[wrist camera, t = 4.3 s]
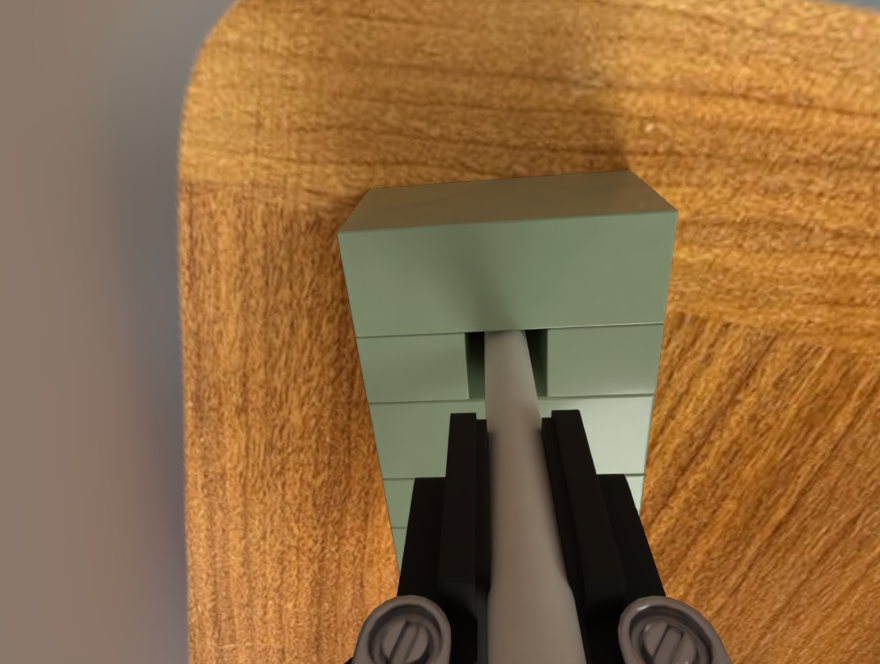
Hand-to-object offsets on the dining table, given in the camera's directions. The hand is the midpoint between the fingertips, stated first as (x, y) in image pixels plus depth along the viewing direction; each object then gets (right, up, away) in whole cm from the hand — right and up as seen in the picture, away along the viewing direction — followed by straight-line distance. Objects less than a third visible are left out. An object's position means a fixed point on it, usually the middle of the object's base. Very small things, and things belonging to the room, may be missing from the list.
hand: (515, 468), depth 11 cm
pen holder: (+1, +2, +9) cm, 9 cm away
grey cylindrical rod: (+1, +4, +7) cm, 9 cm away
